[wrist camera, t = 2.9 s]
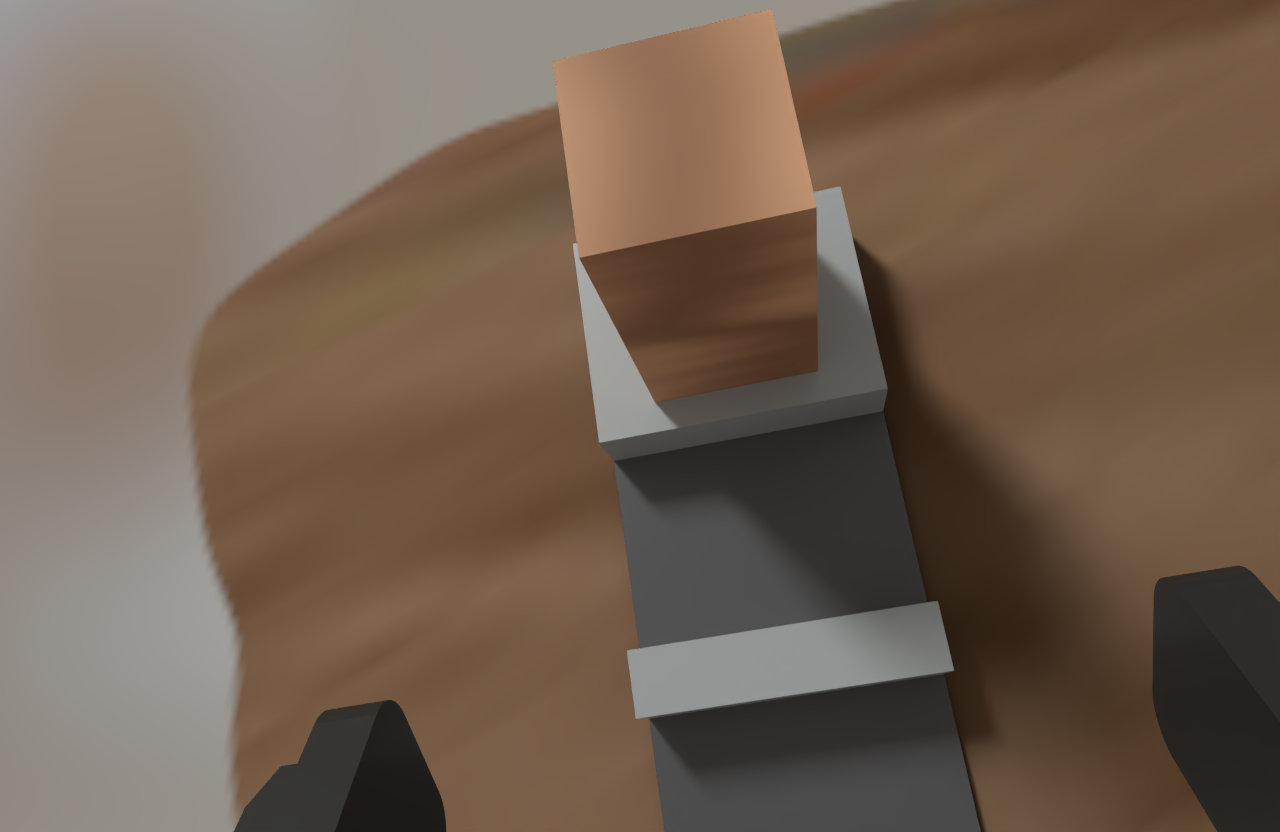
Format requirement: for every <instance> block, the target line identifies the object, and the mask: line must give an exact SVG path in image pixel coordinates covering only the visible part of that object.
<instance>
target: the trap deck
mask: <svg viewBox="0 0 1280 832" xmlns="http://www.w3.org/2000/svg"><path fill="white" fill-rule="evenodd" d="M813 193H814V197H815V202H816V206H817V305H818V371H817V372H812V373H807V374H802V375H796V376H791V377H786V378H781V379H776V380H770V381H765V382H760V383H755V384H749V385H744V386H739V387H734V388H729V389H723V390H718V391H713V392H708V393H702V394H697V395H692V396H687V397H682V398H676V399H671V400H666V401H661V402H654V400H653V398H652V396H651V394H650V392H649V390H648V388H647V386H646V385H645V383H644V381H643V379H642V377H641V375H640V373H639V371H638V369H637V367H636V366H635V364H634V362H633V360H632V358H631V356H630V354H629V352H628V350H627V348H626V346H625V345H624V343H623V341H622V339H621V337H620V335H619V333H618V331H617V329H616V327H615V326H614V324H613V322H612V320H611V318H610V316H609V314H608V312H607V310H606V308H605V306H604V305H603V303H602V301H601V299H600V297H599V295H598V293H597V291H596V289H595V287H594V286H593V284H592V282H591V280H590V278H589V276H588V274H587V272H586V270H585V268H584V266H583V265H582V263H581V261H580V259H579V254H578V247H577V243H574V244H573V248H574V255H575V263H576V271H577V278H578V286H579V293H580V301H581V308H582V316H583V323H584V331H585V338H586V346H587V353H588V361H589V368H590V376H591V384H592V391H593V399H594V406H595V414H596V421H597V429H598V436H599V443H600V444H601V445H602V447H603V448H604V449H605V450H606V452H607V453H608V454H609V455H610V457H611V458H612V459H613V460H614V465H615V472H616V479H617V487H618V494H619V501H620V508H621V516H622V523H623V530H624V538H625V545H626V552H627V560H628V567H629V574H630V581H631V589H632V596H633V603H634V611H635V618H636V625H637V633H638V640H639V647H640V649H633V650H627V655H628V662H629V670H630V677H631V685H632V692H633V700H634V708H635V715H636V719H649V720H650V728H651V735H652V742H653V750H654V757H655V764H656V771H657V779H658V786H659V793H660V801H661V808H662V815H663V823H664V830H665V832H981V831H980V826H979V822H978V818H977V813H976V809H975V805H974V801H973V796H972V792H971V788H970V783H969V779H968V775H967V770H966V766H965V762H964V757H963V753H962V749H961V744H960V740H959V736H958V732H957V727H956V723H955V719H954V714H953V710H952V706H951V701H950V697H949V693H948V688H947V684H946V680H945V675H944V674H946V673H949V672H952V671H954V668H953V664H952V659H951V655H950V651H949V647H948V642H947V638H946V634H945V630H944V625H943V621H942V617H941V612H940V608H939V604H938V601H933V602H927V598H926V593H925V589H924V585H923V581H922V576H921V572H920V568H919V563H918V559H917V555H916V550H915V546H914V542H913V537H912V533H911V529H910V524H909V520H908V516H907V512H906V507H905V503H904V499H903V494H902V490H901V486H900V481H899V477H898V473H897V468H896V464H895V460H894V455H893V451H892V447H891V442H890V438H889V434H888V430H887V425H886V421H885V417H884V412H883V410H884V405H885V400H886V395H887V390H888V387H887V383H886V379H885V374H884V370H883V366H882V362H881V357H880V353H879V349H878V345H877V340H876V336H875V332H874V328H873V323H872V319H871V315H870V311H869V306H868V302H867V298H866V294H865V289H864V285H863V281H862V277H861V272H860V268H859V264H858V260H857V255H856V251H855V247H854V243H853V238H852V234H851V230H850V226H849V221H848V217H847V213H846V209H845V204H844V200H843V196H842V192H841V187H836V188H831V189H827V190H822V191H817V192H813Z"/></svg>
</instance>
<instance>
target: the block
mask: <svg viewBox="0 0 1280 832" xmlns="http://www.w3.org/2000/svg"><path fill="white" fill-rule="evenodd" d="M553 68H554V75H555V83H556V90H557V98H558V105H559V113H560V120H561V128H562V135H563V142H564V150H565V157H566V165H567V172H568V180H569V187H570V195H571V202H572V210H573V217H574V224H575V232H576V239H577V247H578V254H579V259H580V261H581V263H582V265H583V266H584V268H585V270H586V272H587V274H588V276H589V278H590V280H591V282H592V284H593V286H594V287H595V289H596V291H597V293H598V295H599V297H600V299H601V301H602V303H603V305H604V306H605V308H606V310H607V312H608V314H609V316H610V318H611V320H612V322H613V324H614V326H615V327H616V329H617V331H618V333H619V335H620V337H621V339H622V341H623V343H624V345H625V346H626V348H627V350H628V352H629V354H630V356H631V358H632V360H633V362H634V364H635V366H636V367H637V369H638V371H639V373H640V375H641V377H642V379H643V381H644V383H645V385H646V386H647V388H648V390H649V392H650V394H651V396H652V398H653V400H654V402H661V401H666V400H671V399H676V398H682V397H687V396H692V395H697V394H702V393H708V392H713V391H718V390H723V389H729V388H734V387H739V386H744V385H749V384H755V383H760V382H765V381H770V380H776V379H781V378H786V377H791V376H796V375H802V374H807V373H812V372H817V371H818V305H817V206H816V202H815V197H814V193H813V189H812V184H811V180H810V175H809V171H808V166H807V162H806V157H805V153H804V149H803V144H802V140H801V135H800V131H799V126H798V122H797V117H796V113H795V108H794V104H793V100H792V95H791V91H790V86H789V82H788V77H787V73H786V68H785V64H784V59H783V55H782V51H781V46H780V42H779V37H778V33H777V28H776V24H775V19H774V15H773V11H772V9H770V10H766V11H761V12H757V13H753V14H749V15H745V16H740V17H736V18H732V19H728V20H724V21H719V22H715V23H712V24H707V25H703V26H699V27H694V28H690V29H686V30H682V31H678V32H673V33H669V34H665V35H661V36H657V37H653V38H648V39H644V40H640V41H636V42H631V43H627V44H624V45H619V46H615V47H610V48H607V49H602V50H598V51H594V52H590V53H586V54H581V55H577V56H573V57H569V58H564V59H560V60H556V61H553Z"/></svg>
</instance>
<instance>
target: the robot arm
mask: <svg viewBox="0 0 1280 832" xmlns="http://www.w3.org/2000/svg"><path fill="white" fill-rule="evenodd" d="M1153 700H1154V706H1155V712H1156V716H1157V720H1158V723H1159V726H1160V729H1161V732H1162V735H1163V738H1164V740H1165V743H1166V745H1167V747H1168V749H1169V751H1170V753H1171V755H1172V757H1173V759H1174V760H1175V762H1176V764H1177V765H1178V767H1179V769H1180V770H1181V772H1182V774H1183V775H1184V777H1185V779H1186V780H1187V782H1188V784H1189V785H1190V787H1191V789H1192V790H1193V792H1194V794H1195V795H1196V797H1197V799H1198V800H1199V802H1200V804H1201V805H1202V807H1203V809H1204V810H1205V812H1206V814H1207V815H1208V817H1209V818H1210V820H1211V822H1212V823H1213V825H1214V827H1215V828H1216V830H1217V832H1280V603H1279V602H1278V601H1277V599H1276V598H1275V597H1274V596H1273V595H1272V594H1271V593H1270V592H1269V590H1268V589H1267V588H1266V587H1265V586H1264V585H1263V584H1262V583H1261V581H1260V580H1259V579H1258V578H1257V577H1256V576H1255V575H1254V574H1253V573H1252V572H1251V571H1250V570H1248V569H1247V568H1245V567H1243V566H1232V567H1226V568H1220V569H1214V570H1208V571H1201V572H1195V573H1189V574H1183V575H1177V576H1170V577H1164V578H1161V579H1159V580H1158V581H1157V583H1156V585H1155V590H1154V621H1153ZM234 832H446V819H445V812H444V807H443V802H442V799H441V796H440V793H439V791H438V789H437V786H436V784H435V782H434V780H433V777H432V775H431V773H430V771H429V768H428V766H427V764H426V762H425V759H424V757H423V755H422V753H421V750H420V748H419V746H418V744H417V742H416V739H415V737H414V735H413V733H412V730H411V728H410V726H409V724H408V721H407V719H406V717H405V715H404V713H403V711H402V709H401V708H400V706H399V705H398V704H397V703H396V702H394V701H392V700H386V701H380V702H374V703H368V704H362V705H356V706H349V707H343V708H337V709H331V710H327V711H324V712H323V713H322V714H321V715H320V716H319V717H318V719H317V720H316V722H315V724H314V727H313V729H312V731H311V734H310V736H309V738H308V741H307V743H306V745H305V748H304V750H303V752H302V754H301V757H300V759H299V761H298V764H292V765H286V766H281V767H280V768H279V769H278V770H277V771H276V773H275V774H274V775H273V776H272V777H271V778H270V780H269V781H268V782H267V783H266V784H265V785H264V786H263V788H262V789H261V790H260V791H259V792H258V793H257V795H256V796H255V797H254V798H253V799H252V800H251V801H250V803H249V804H248V805H247V806H246V807H245V809H244V811H243V813H242V815H241V817H240V820H239V822H238V824H237V826H236V828H235V830H234Z"/></svg>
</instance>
